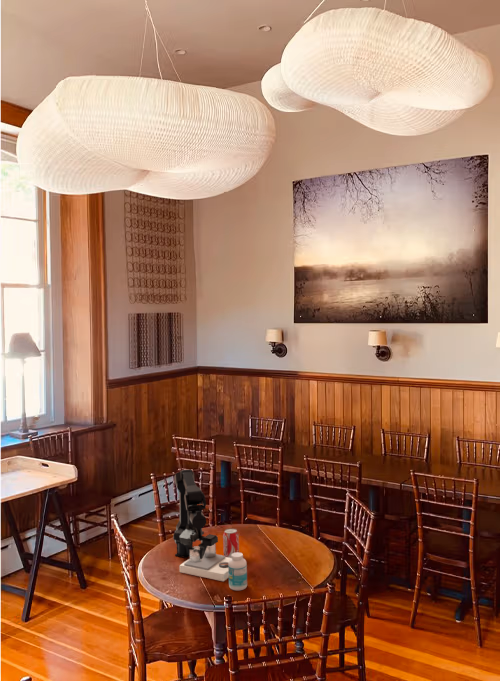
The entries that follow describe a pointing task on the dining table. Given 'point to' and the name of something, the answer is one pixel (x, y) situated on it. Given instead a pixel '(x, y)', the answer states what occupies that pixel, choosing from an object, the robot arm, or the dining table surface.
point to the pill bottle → (237, 572)
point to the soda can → (230, 542)
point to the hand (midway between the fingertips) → (195, 557)
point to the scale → (208, 567)
